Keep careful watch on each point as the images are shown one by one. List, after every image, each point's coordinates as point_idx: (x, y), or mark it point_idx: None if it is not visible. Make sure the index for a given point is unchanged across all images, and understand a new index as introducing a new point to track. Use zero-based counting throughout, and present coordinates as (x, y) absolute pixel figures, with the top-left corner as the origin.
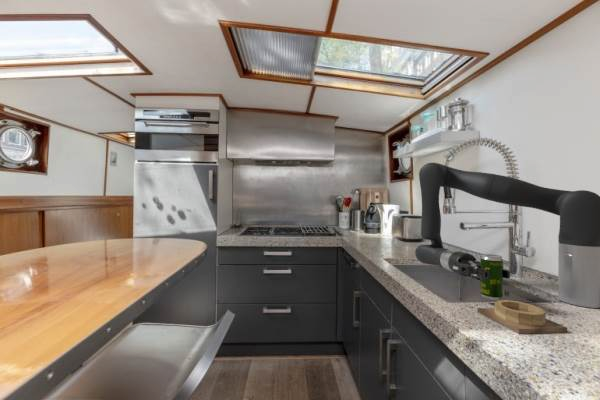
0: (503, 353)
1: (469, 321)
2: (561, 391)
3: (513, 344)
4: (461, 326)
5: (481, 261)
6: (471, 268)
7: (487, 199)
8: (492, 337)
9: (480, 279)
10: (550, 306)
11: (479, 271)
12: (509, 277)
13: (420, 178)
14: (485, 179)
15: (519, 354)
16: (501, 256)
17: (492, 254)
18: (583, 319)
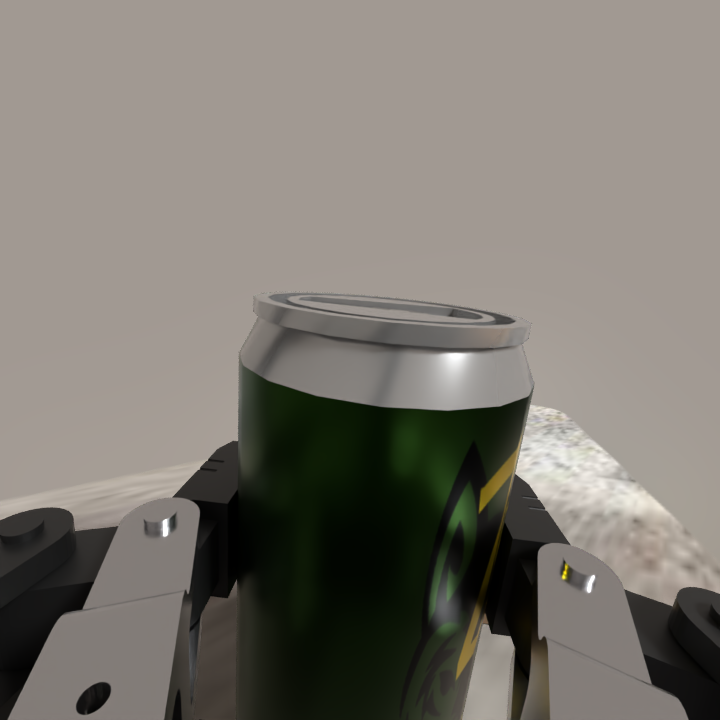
0: (577, 447)
1: (635, 557)
2: (534, 407)
3: (536, 458)
4: (672, 534)
5: (524, 427)
6: (659, 643)
7: None
8: (578, 480)
9: (463, 703)
10: None
11: (549, 524)
12: None
13: None
14: None
15: (544, 441)
16: (318, 293)
17: (283, 304)
18: (122, 492)
